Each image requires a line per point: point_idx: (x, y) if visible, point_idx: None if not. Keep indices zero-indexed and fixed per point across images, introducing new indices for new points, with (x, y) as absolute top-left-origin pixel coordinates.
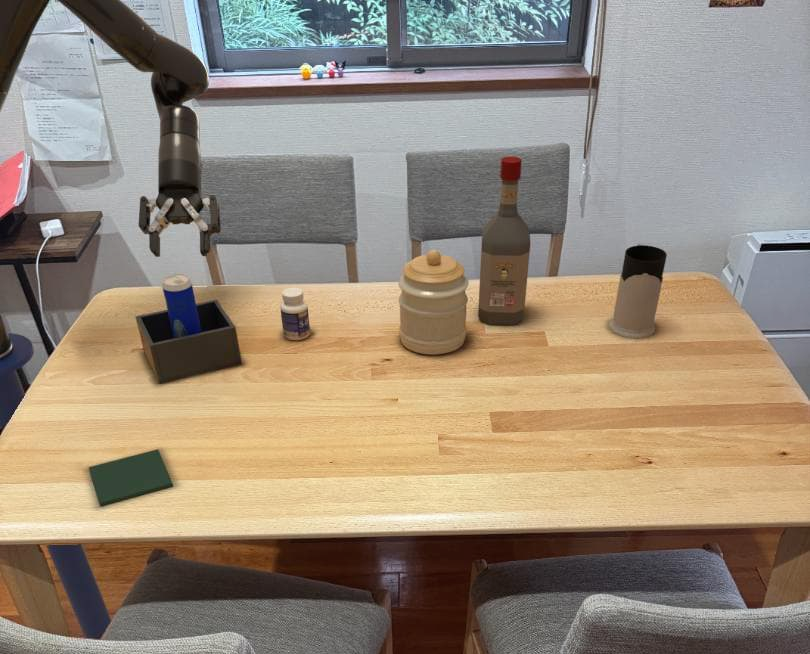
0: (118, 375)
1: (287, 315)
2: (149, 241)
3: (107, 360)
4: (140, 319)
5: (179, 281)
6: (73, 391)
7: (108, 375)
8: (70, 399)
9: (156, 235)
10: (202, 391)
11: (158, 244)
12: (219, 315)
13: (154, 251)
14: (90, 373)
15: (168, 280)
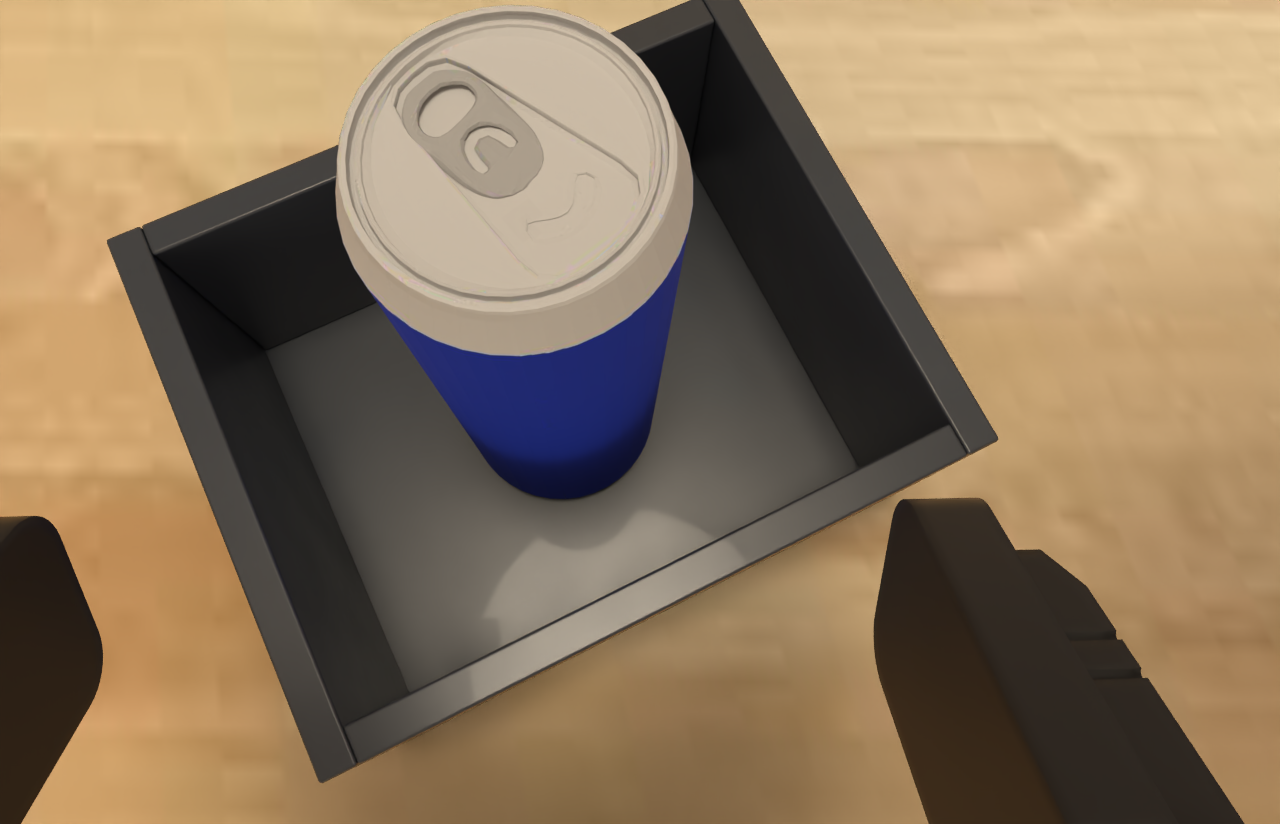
0: (962, 235)
1: None
2: (1150, 684)
3: (1097, 405)
4: (934, 381)
5: (461, 132)
6: (1144, 84)
7: (1020, 236)
8: (1124, 14)
9: (1035, 778)
10: None
11: (947, 751)
12: (311, 596)
13: (943, 499)
14: (1134, 259)
15: (619, 189)
